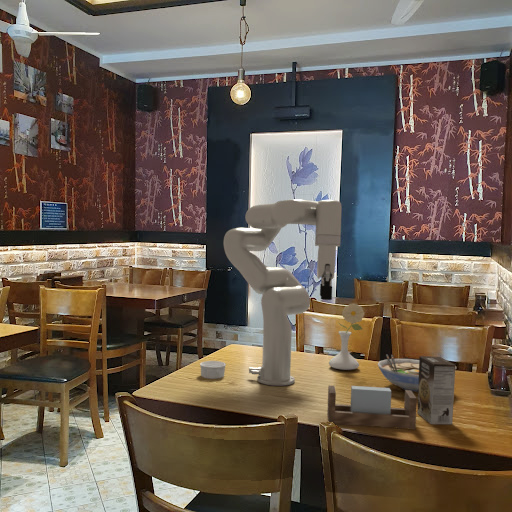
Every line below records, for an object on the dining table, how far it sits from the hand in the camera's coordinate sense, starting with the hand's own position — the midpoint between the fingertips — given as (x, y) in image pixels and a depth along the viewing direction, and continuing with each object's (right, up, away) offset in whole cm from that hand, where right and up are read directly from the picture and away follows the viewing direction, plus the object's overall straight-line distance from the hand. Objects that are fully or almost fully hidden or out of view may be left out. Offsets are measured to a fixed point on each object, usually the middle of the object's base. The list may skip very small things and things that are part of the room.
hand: (325, 297), depth 152 cm
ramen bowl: (+30, -31, +14) cm, 46 cm away
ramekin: (-36, -29, +21) cm, 51 cm away
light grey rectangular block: (+9, -30, -19) cm, 37 cm away
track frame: (+9, -31, -19) cm, 38 cm away
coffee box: (+27, -32, -15) cm, 45 cm away
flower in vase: (+13, -30, +37) cm, 50 cm away
